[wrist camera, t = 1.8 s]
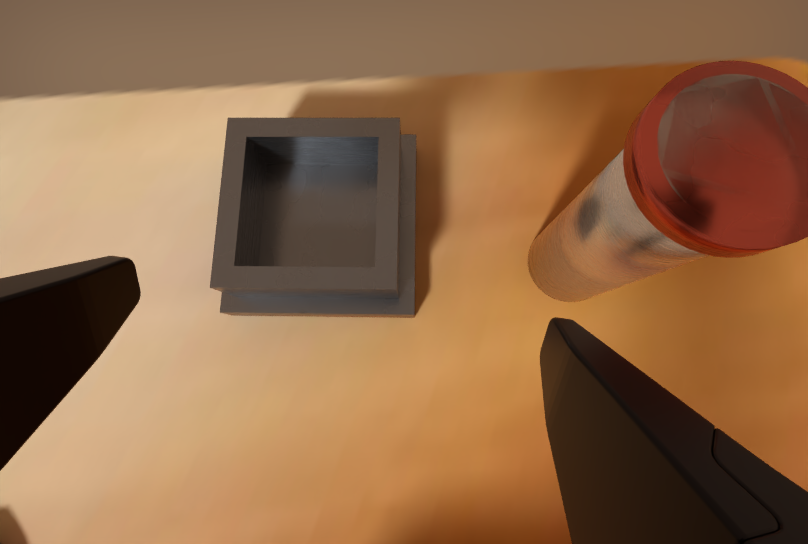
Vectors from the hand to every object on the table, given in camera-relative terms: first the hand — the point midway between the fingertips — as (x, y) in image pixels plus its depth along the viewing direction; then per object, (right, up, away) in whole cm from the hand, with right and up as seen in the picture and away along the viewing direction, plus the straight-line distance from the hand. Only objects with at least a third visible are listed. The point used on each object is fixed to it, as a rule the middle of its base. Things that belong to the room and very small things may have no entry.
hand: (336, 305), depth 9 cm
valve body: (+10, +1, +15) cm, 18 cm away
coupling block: (-3, +3, +15) cm, 16 cm away
